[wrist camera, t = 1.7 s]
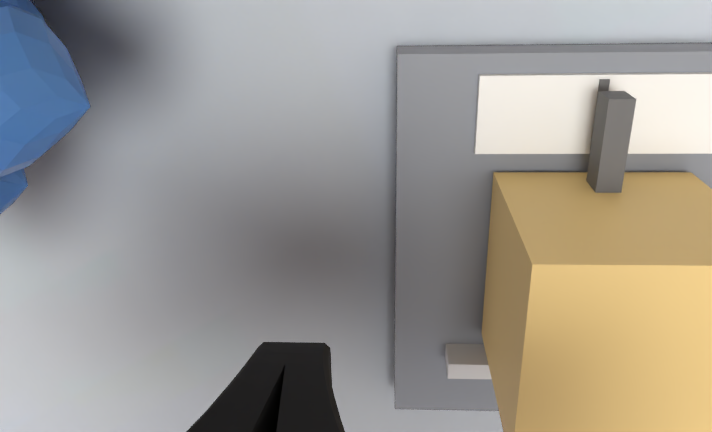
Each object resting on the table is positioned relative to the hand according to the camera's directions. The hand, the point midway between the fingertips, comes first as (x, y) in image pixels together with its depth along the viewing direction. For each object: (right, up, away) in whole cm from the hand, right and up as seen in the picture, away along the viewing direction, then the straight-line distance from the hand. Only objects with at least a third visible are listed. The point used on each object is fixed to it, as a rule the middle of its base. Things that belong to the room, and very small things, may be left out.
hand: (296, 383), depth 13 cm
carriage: (+7, +3, +4) cm, 9 cm away
